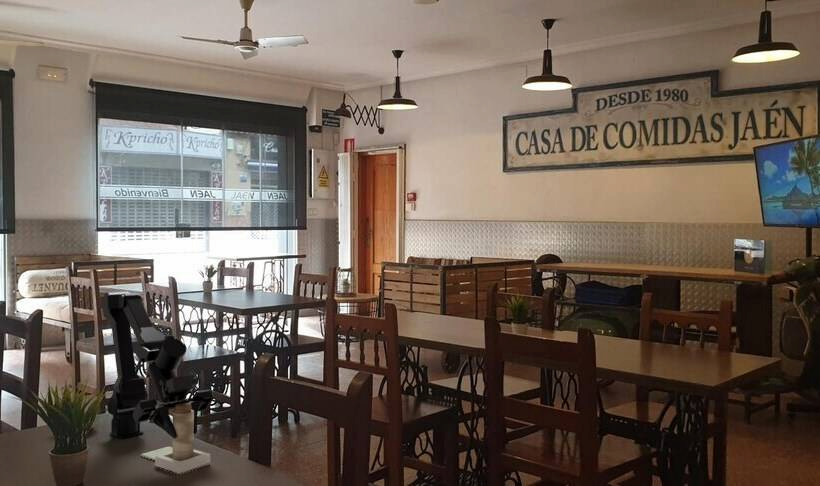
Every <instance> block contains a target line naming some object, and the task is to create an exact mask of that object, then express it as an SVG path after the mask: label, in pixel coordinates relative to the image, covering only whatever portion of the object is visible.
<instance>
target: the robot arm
mask: <svg viewBox="0 0 820 486" xmlns="http://www.w3.org/2000/svg"><path fill="white" fill-rule="evenodd" d="M99 300H100V302H99V303H100V305H99V306H100V308H101V310H102V314H103V317H104V318H105V320H107V322H108V323H109V324H110V327H111V334H112V335H111V336H112V342H113V343H112V344H113V349H114V350H113V351H114V358H115V367H116V373H117V375H116V376H117V378H116V379H115V382H114V384H113V386H112V395H111V396H110V398H109V401H108V402H107V405H106V409H107V413H108V414H110V415H112V418H111V424H110V426H111V431H110V432H109V436H113V437H116V438H119V439H123V440H125V439H127V438H131V437H132V438H133V437H134V436H139V435H143V434H144V431H142V430H141V423H144V422H147V421H148V420H149V424H154V425H156V426H158V427H159V428H160V429H162V430H163V431H164V432H165V433H166V434H167V435H169V436H170V437H171V438H172V439H173V438H174V439H175V438H176V437H177V434H176V430H175V428H174V425H173V420H172V418H171V417H170V411H171V410H172V411H173V410H175V409H176V405H177V404H181V403H189V404H191V410H193V411H194V435H197V433H198V416H199V415H198V414H199V412H203V411H206V410H208V408H209V407H210V406H211V403H212V402H213V401H214V399H215V395H214V393H213V391H212V390H210V389H205V390H197V391H195V392H194V394H193V396H192V397H188V398H186V396H188V394H189V390H191V389H193V388H194V387H196V385H199V377H198V375H197V373H196V371H190V372H188V373H186V374H185V375H180V376H177V375H176V373H175V369H177V368H178V367H179V365H180V363H181V361H182V360H183V358H184V356H185V354H186V352H187V345H186V344H185V343H184V342H183V341H181V340H180V339H177V338H175V337H174V336H175V335H174V334H172V335H170V334H169V335H164V334H163V333H162V332H161V331H159V330H157V329H156V328H155V327H154V325H153V323H152V320H151V319H150V317H149V314H148V312H147V310H146V308H145V306H144V304H143V302H142V301H143V298H142V296H141V294H140V293H138V292H133V293H132V292H130V291H127V290H125V291H124V290H123V291H108V292H105V293H104V294H103V296H101V297H100V299H99ZM131 329H132V330H131ZM132 331H133V334H134V336H135V338H136V344H135V354H134V344H133V339H132V337H133V336H132ZM135 355H136V357H137V359H138V360H139V361H140V362H141V363H150V362H151V363H150V364H149V366H148V368H147V372H146V378H150V380H151V382H152V386H153V388H154V391H153V396H154V397H157V398H158V400H159V401H157V399H156V398H149V399H148V397H149V394H148V391H147V390H146V381H145V379H144V378H143V377H140V376H139V375H138V374H137V370H136V362H135V361H136V360H135Z"/></svg>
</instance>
